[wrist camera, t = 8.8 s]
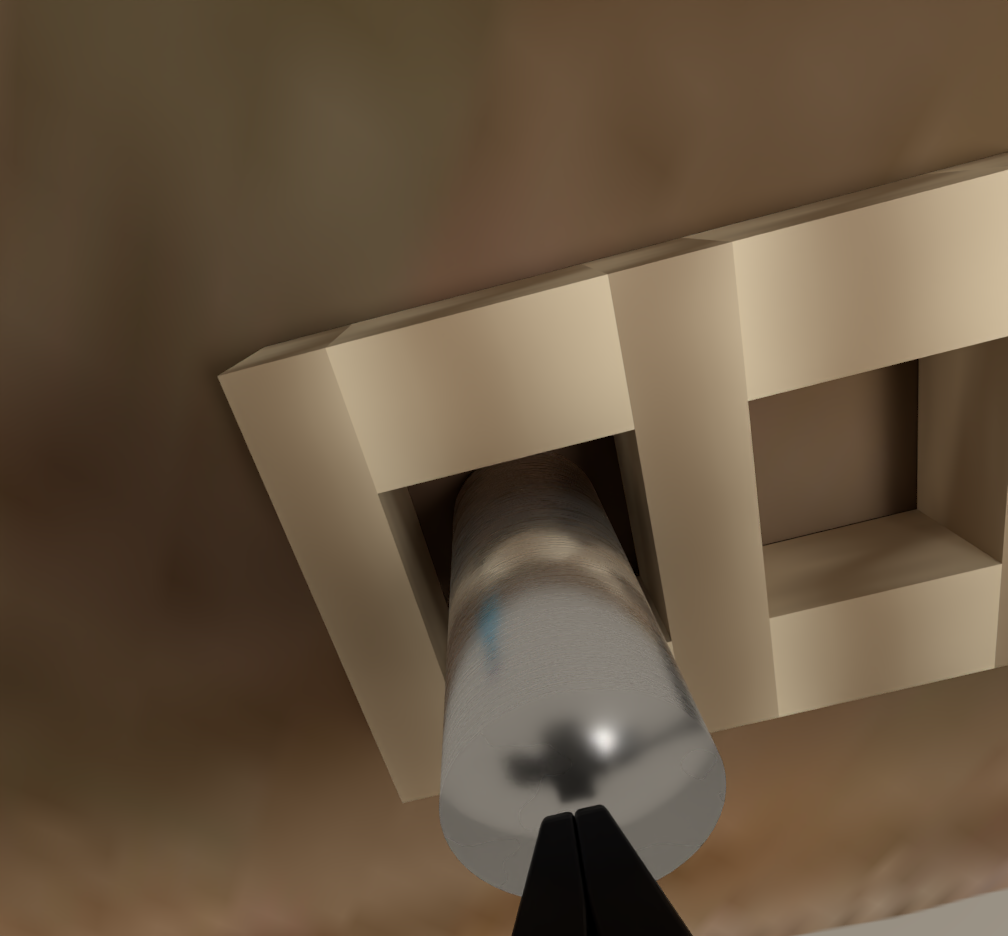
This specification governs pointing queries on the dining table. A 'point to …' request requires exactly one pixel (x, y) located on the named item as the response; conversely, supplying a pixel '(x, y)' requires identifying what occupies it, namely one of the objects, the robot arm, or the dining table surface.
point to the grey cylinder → (561, 682)
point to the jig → (671, 450)
